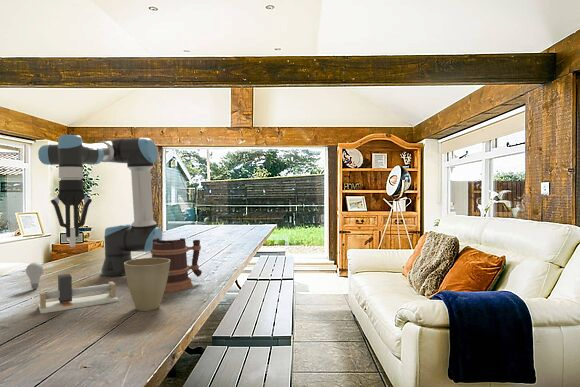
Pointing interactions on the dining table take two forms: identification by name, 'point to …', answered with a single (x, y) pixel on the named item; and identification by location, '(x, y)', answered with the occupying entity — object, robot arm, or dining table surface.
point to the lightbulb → (34, 274)
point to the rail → (78, 302)
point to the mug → (177, 262)
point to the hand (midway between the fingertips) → (72, 246)
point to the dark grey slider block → (65, 288)
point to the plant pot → (147, 281)
